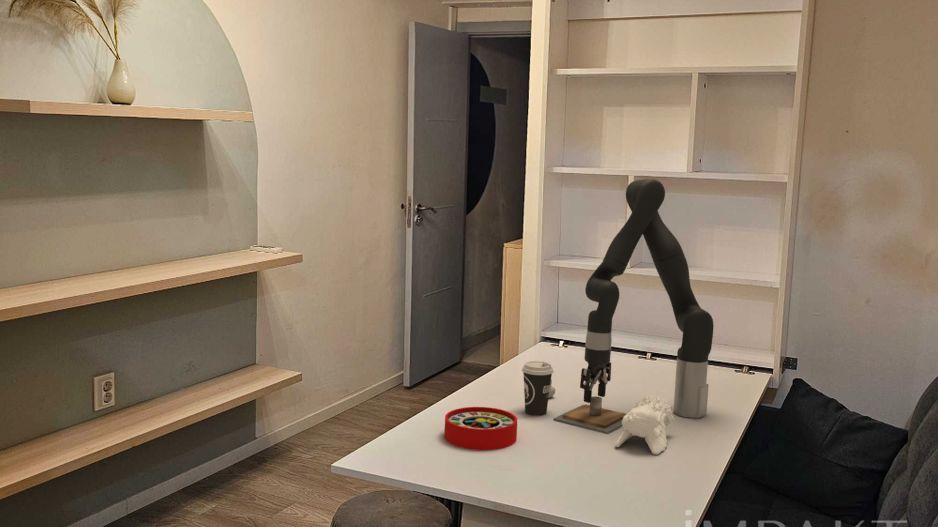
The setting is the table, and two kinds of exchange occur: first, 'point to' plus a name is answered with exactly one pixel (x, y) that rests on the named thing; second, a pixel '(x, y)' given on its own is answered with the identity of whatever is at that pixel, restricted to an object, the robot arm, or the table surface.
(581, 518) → the table surface
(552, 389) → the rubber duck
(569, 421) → the charcoal mat
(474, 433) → the toy clock
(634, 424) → the white lumpy figure
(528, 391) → the coffee cup
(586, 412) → the walnut lid
